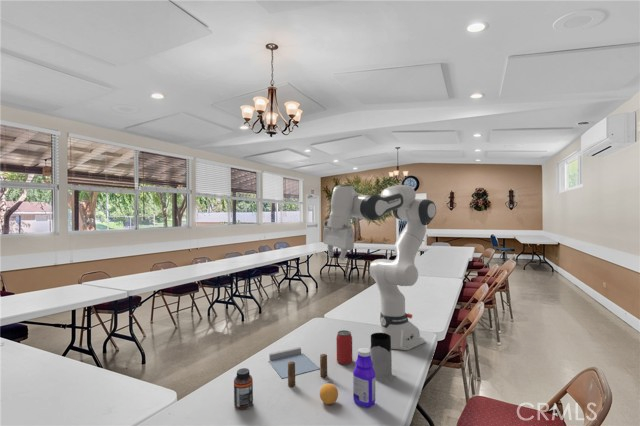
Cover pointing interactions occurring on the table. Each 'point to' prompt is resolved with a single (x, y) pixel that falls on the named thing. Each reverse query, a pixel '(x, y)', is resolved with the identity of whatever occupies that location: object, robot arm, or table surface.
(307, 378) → the table surface
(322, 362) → the right post
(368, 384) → the bottle
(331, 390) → the ball
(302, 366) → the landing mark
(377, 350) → the glass holder
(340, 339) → the beer can
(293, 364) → the left post
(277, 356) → the stopper wall
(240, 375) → the supplement bottle
